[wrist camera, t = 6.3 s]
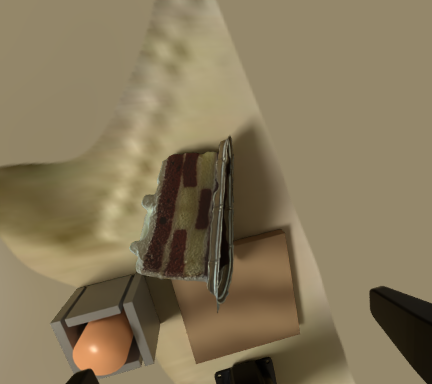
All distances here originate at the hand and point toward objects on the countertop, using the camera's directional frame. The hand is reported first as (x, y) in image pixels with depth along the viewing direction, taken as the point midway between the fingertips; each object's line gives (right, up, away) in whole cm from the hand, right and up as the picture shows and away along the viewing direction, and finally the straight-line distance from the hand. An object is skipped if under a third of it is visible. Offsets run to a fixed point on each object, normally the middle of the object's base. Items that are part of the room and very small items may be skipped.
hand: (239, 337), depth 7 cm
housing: (-10, -6, +14) cm, 18 cm away
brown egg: (-10, -7, +14) cm, 18 cm away
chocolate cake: (-2, +7, +14) cm, 16 cm away
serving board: (+1, -6, +15) cm, 16 cm away
